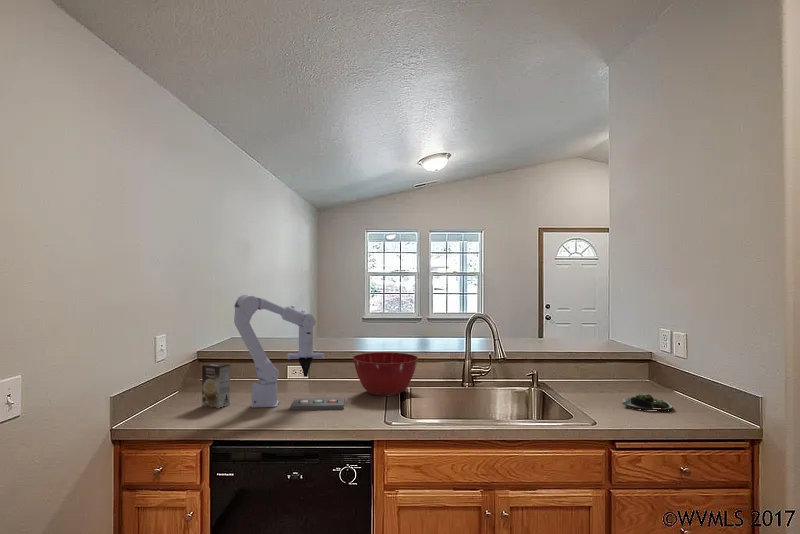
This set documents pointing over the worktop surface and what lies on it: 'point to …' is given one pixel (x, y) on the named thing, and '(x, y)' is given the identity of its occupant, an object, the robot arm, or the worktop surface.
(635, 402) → the salad plate
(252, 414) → the worktop surface
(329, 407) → the button panel
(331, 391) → the worktop surface
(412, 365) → the mixing bowl
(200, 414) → the worktop surface
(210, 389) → the coffee box
